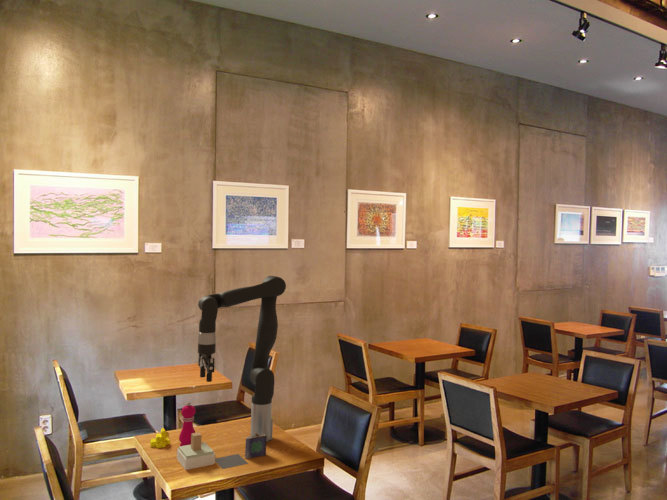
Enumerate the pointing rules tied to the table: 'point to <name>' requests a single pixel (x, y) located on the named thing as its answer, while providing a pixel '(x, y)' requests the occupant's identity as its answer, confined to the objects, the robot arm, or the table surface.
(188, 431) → the pepper mill
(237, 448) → the table surface
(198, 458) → the dish
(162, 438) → the yellow lumpy cluster
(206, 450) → the lid
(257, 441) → the flask
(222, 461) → the mat
